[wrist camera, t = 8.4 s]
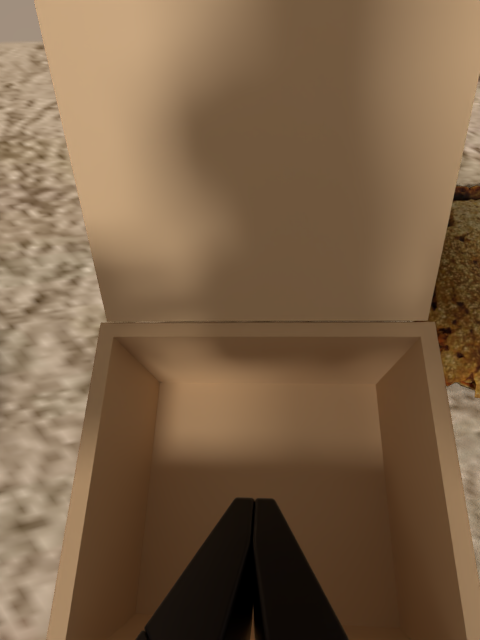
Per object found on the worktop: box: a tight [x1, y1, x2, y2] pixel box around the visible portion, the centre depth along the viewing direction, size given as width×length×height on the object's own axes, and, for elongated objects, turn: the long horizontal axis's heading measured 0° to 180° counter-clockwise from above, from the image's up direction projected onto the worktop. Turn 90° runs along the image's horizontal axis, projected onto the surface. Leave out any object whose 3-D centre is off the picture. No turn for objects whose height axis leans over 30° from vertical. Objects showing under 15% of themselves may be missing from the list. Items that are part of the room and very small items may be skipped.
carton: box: [46, 322, 480, 640], centre depth 17 cm, size 12×13×8 cm
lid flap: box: [34, 0, 480, 322], centre depth 13 cm, size 12×12×1 cm
